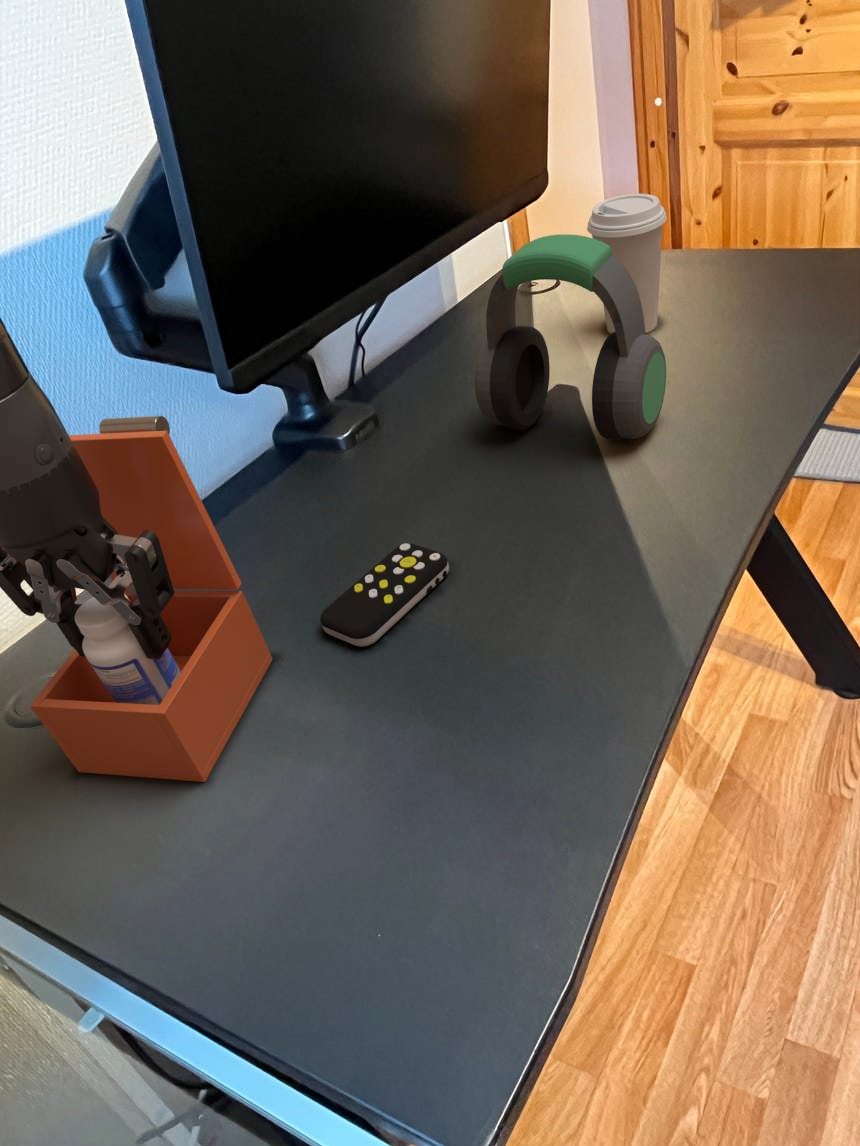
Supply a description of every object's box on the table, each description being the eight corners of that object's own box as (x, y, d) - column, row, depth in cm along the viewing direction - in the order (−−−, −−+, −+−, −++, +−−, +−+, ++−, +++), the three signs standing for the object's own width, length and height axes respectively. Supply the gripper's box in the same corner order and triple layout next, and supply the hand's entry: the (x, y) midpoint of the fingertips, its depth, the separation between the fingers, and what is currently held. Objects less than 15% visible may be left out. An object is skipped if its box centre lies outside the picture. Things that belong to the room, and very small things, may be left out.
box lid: (162, 436, 61) (195, 395, 64) (25, 442, 64) (64, 403, 67) (238, 589, 71) (263, 546, 74) (117, 588, 74) (146, 547, 77)
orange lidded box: (205, 782, 67) (163, 713, 62) (78, 772, 70) (29, 705, 65) (273, 659, 76) (242, 590, 71) (159, 655, 79) (121, 589, 74)
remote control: (317, 632, 78) (310, 615, 77) (407, 553, 85) (403, 536, 83) (367, 653, 75) (361, 636, 73) (456, 569, 81) (452, 552, 80)
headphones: (672, 410, 96) (668, 221, 83) (638, 462, 90) (627, 265, 77) (519, 397, 105) (493, 223, 92) (477, 444, 98) (443, 263, 85)
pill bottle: (161, 667, 73) (109, 576, 66) (202, 687, 70) (152, 595, 64) (109, 709, 70) (49, 619, 64) (149, 733, 67) (91, 641, 61)
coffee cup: (589, 319, 118) (578, 202, 108) (658, 305, 118) (654, 186, 108) (604, 348, 111) (594, 224, 101) (678, 332, 111) (675, 207, 101)
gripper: (136, 423, 56) (230, 619, 67) (-43, 431, 60) (74, 616, 71) (73, 488, 51) (186, 690, 62) (-119, 492, 55) (20, 682, 66)
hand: (125, 649), depth 66 cm, fingers closed on pill bottle, 5 cm apart
